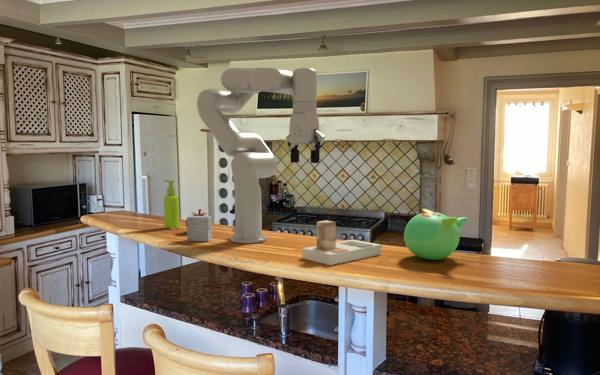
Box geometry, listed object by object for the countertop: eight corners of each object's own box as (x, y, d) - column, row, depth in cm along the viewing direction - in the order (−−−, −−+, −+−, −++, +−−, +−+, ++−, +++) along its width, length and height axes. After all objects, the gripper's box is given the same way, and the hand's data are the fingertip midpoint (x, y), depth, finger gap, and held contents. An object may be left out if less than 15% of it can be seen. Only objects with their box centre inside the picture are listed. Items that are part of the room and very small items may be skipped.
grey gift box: (211, 239, 174) (211, 215, 173) (208, 241, 169) (208, 217, 169) (190, 239, 175) (190, 215, 174) (186, 241, 170) (186, 217, 170)
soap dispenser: (173, 226, 205) (172, 179, 203) (181, 228, 200) (180, 180, 198) (160, 227, 201) (159, 180, 199) (169, 229, 196) (167, 180, 194)
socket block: (302, 258, 143) (302, 247, 143) (352, 248, 158) (352, 238, 157) (330, 265, 134) (330, 253, 134) (381, 254, 148) (381, 243, 148)
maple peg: (316, 258, 144) (316, 221, 143) (326, 256, 146) (326, 220, 145) (325, 260, 141) (326, 223, 140) (335, 258, 143) (335, 221, 142)
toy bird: (412, 250, 154) (413, 205, 153) (467, 255, 146) (468, 208, 145) (396, 261, 138) (397, 211, 137) (457, 268, 131) (458, 215, 129)
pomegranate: (183, 231, 191) (182, 208, 190) (207, 229, 195) (207, 207, 195) (189, 235, 182) (188, 211, 181) (214, 233, 186) (214, 209, 186)
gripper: (278, 109, 155) (278, 162, 156) (314, 105, 142) (314, 163, 143) (296, 110, 160) (296, 162, 161) (332, 107, 147) (332, 163, 148)
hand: (304, 162), depth 152 cm, fingers open, 9 cm apart
